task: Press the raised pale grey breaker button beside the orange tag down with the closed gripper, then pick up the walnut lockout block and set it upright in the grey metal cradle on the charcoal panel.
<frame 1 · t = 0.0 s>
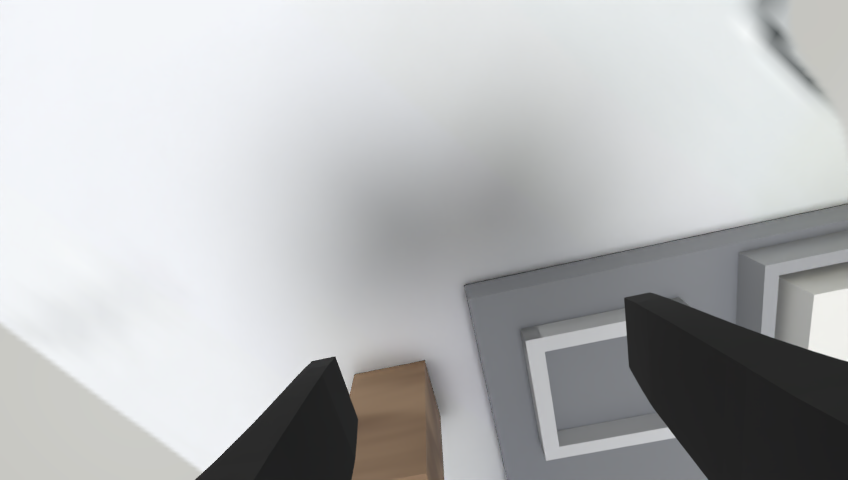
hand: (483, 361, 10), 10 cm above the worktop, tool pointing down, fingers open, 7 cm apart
breaker panel: (667, 366, 22), on the worktop
lockout block: (398, 395, 23), on the worktop
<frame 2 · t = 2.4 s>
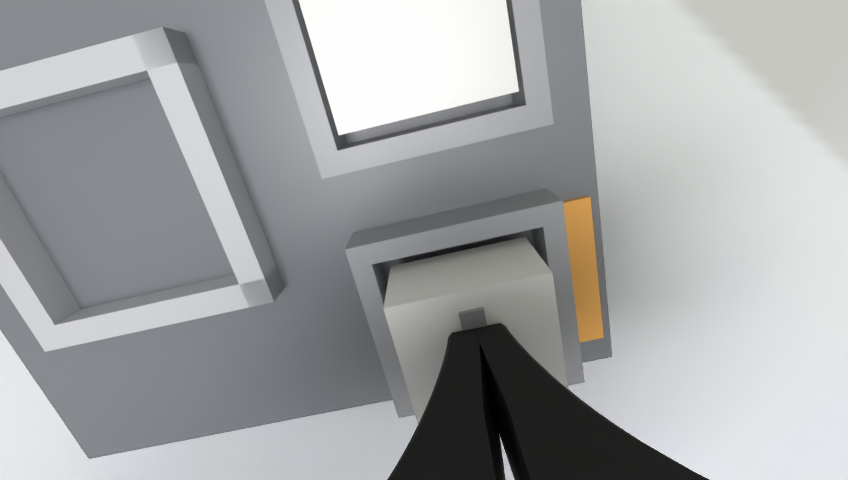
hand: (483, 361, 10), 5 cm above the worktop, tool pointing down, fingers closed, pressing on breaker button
breaker panel: (281, 207, 14), on the worktop
breaker button: (475, 334, 11), point 4 cm above the worktop, slide at 1.1 cm, touching gripper
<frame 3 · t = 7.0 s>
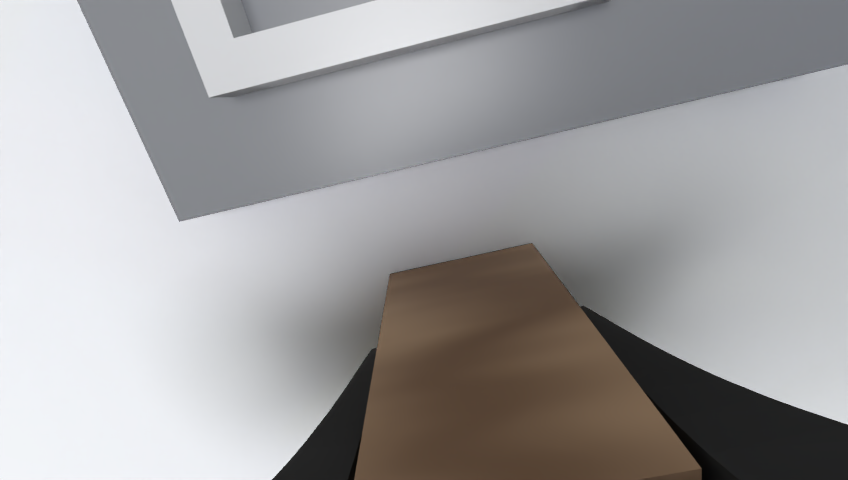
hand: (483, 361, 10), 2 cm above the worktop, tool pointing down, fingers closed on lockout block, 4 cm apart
lockout block: (473, 320, 12), on the worktop, touching gripper
when the fingers open (5 cm above the worktop, at t = 11.9 s): lockout block drops 1 cm, resting on breaker panel.
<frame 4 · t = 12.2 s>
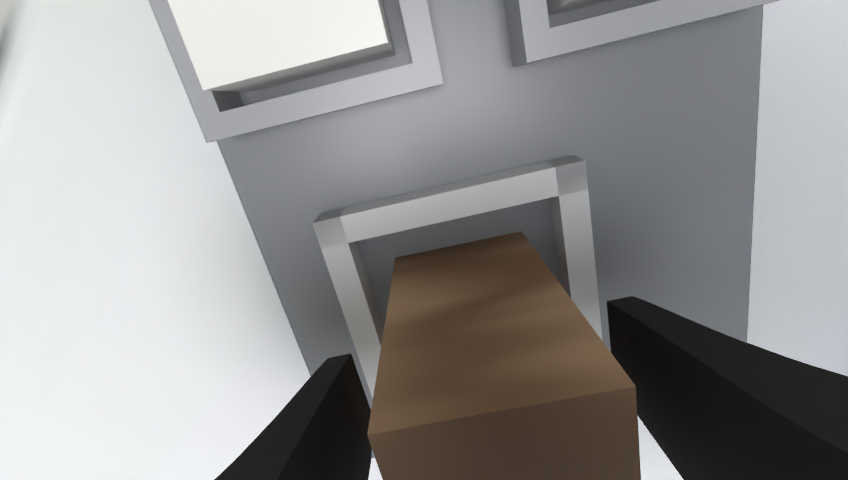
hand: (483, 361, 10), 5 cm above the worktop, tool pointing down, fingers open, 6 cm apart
breaker panel: (484, 158, 13), on the worktop
lockout block: (469, 300, 13), point 1 cm above the worktop, touching breaker panel
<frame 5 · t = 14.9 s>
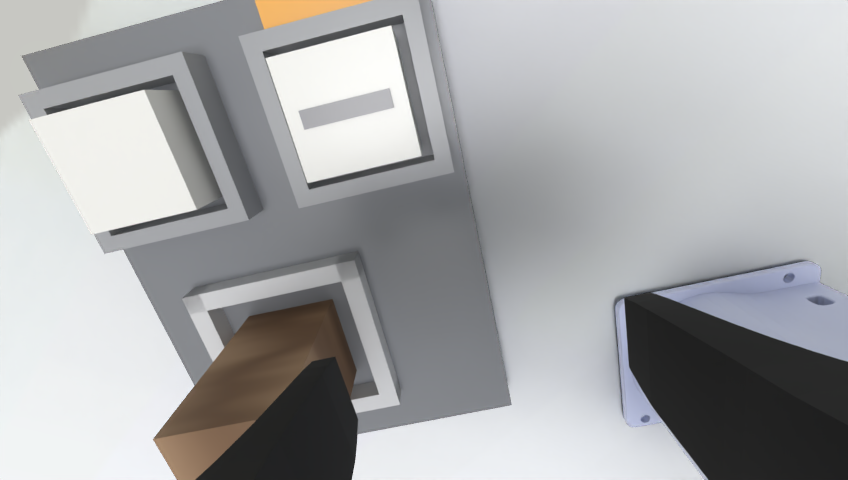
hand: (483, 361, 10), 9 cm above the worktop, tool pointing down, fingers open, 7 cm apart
breaker panel: (314, 246, 19), on the worktop
lockout block: (304, 344, 19), point 1 cm above the worktop, touching breaker panel
breaker button: (352, 108, 14), point 3 cm above the worktop, slide at 1.9 cm
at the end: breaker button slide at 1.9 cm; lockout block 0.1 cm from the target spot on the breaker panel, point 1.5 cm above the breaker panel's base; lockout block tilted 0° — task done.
